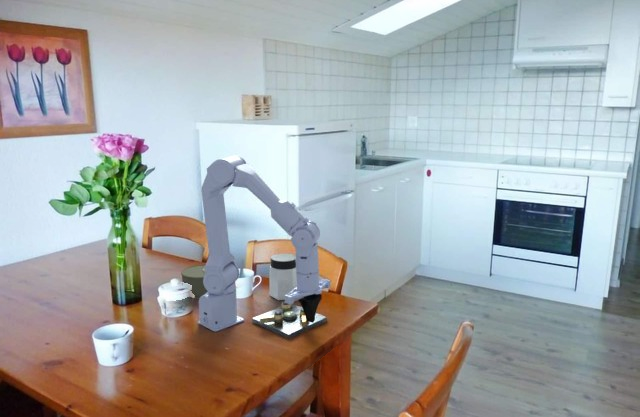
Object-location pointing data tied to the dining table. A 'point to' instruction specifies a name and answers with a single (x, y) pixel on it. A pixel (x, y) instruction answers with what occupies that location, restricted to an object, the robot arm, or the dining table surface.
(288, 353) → the dining table surface
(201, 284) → the can
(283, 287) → the jar
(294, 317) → the plate
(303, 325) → the front footscrew
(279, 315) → the left footscrew
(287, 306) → the back footscrew
